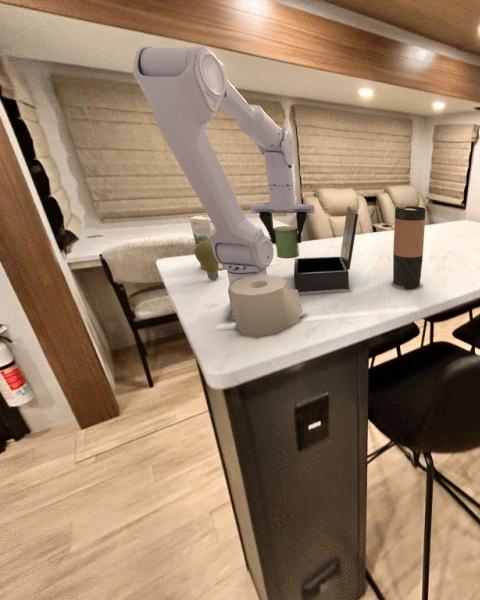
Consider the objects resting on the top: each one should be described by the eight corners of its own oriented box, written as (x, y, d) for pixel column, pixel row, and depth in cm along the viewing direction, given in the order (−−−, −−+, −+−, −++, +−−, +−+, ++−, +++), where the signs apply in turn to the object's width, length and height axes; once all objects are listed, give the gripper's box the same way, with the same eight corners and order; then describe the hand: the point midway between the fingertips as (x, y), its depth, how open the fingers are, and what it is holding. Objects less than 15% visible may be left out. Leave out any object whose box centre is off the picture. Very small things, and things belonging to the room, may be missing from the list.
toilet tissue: (313, 314, 65) (310, 276, 61) (259, 343, 54) (252, 299, 51) (282, 302, 69) (278, 266, 65) (227, 328, 58) (217, 286, 54)
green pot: (299, 258, 78) (297, 230, 75) (275, 259, 76) (272, 230, 73) (300, 252, 83) (297, 225, 80) (277, 253, 81) (274, 226, 78)
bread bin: (296, 295, 74) (293, 274, 71) (296, 276, 85) (294, 258, 83) (348, 291, 77) (348, 271, 75) (342, 274, 89) (341, 256, 87)
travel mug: (418, 291, 79) (423, 210, 71) (389, 288, 80) (391, 208, 72) (422, 281, 86) (427, 207, 78) (395, 278, 87) (398, 205, 79)
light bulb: (196, 280, 80) (187, 242, 76) (217, 275, 84) (209, 238, 80) (210, 285, 77) (201, 245, 73) (230, 278, 82) (223, 241, 78)
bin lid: (355, 213, 70) (358, 214, 70) (347, 206, 82) (349, 206, 82) (346, 269, 75) (349, 269, 75) (340, 254, 87) (342, 255, 87)
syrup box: (231, 264, 93) (222, 215, 87) (219, 270, 88) (208, 218, 82) (213, 263, 94) (203, 214, 88) (200, 269, 88) (188, 217, 82)
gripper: (312, 185, 78) (316, 238, 84) (250, 183, 74) (258, 239, 80) (313, 187, 72) (317, 244, 77) (245, 185, 68) (254, 246, 73)
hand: (287, 242), depth 78 cm, fingers closed on green pot, 5 cm apart
